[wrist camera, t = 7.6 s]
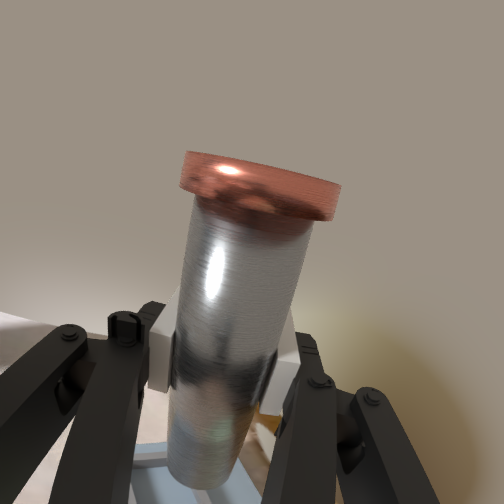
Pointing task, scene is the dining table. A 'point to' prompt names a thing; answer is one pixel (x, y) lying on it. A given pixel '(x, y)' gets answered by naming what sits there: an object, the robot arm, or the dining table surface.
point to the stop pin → (233, 303)
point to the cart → (175, 494)
